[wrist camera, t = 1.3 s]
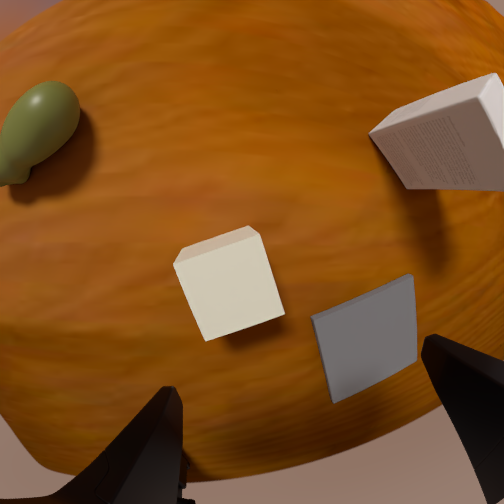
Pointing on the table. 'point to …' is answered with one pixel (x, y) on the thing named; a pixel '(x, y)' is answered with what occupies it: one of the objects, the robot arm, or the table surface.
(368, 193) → the table surface
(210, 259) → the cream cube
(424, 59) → the table surface
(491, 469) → the robot arm
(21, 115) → the pear
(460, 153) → the skincare box
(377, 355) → the mat
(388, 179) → the table surface
